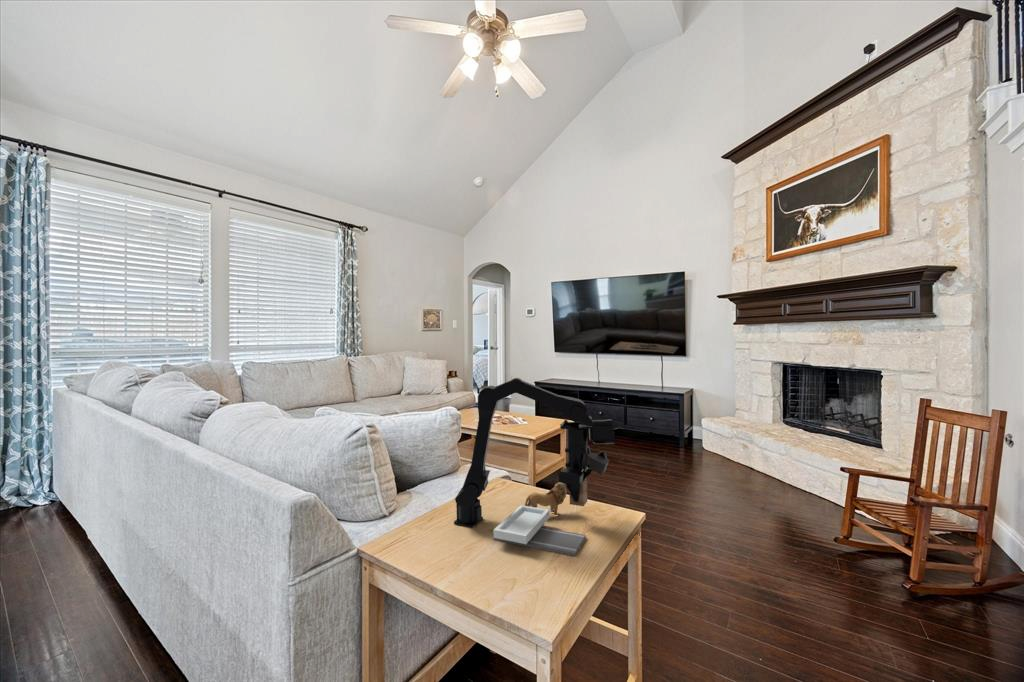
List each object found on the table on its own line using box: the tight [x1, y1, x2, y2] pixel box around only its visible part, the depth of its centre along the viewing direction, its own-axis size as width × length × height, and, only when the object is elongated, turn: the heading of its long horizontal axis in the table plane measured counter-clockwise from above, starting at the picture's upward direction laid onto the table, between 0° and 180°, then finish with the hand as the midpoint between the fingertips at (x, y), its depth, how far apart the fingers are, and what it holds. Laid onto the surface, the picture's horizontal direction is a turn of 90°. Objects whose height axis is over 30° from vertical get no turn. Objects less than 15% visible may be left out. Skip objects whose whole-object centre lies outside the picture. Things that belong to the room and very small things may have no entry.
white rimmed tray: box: [493, 504, 551, 544], centre depth 110 cm, size 9×17×4 cm, turn 155°
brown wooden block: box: [568, 479, 588, 507], centre depth 116 cm, size 4×4×6 cm
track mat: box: [493, 526, 587, 557], centre depth 108 cm, size 22×10×1 cm, turn 65°
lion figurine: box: [524, 482, 568, 516], centre depth 123 cm, size 15×5×9 cm, turn 105°
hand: (578, 498), depth 116 cm, fingers closed on brown wooden block, 4 cm apart
